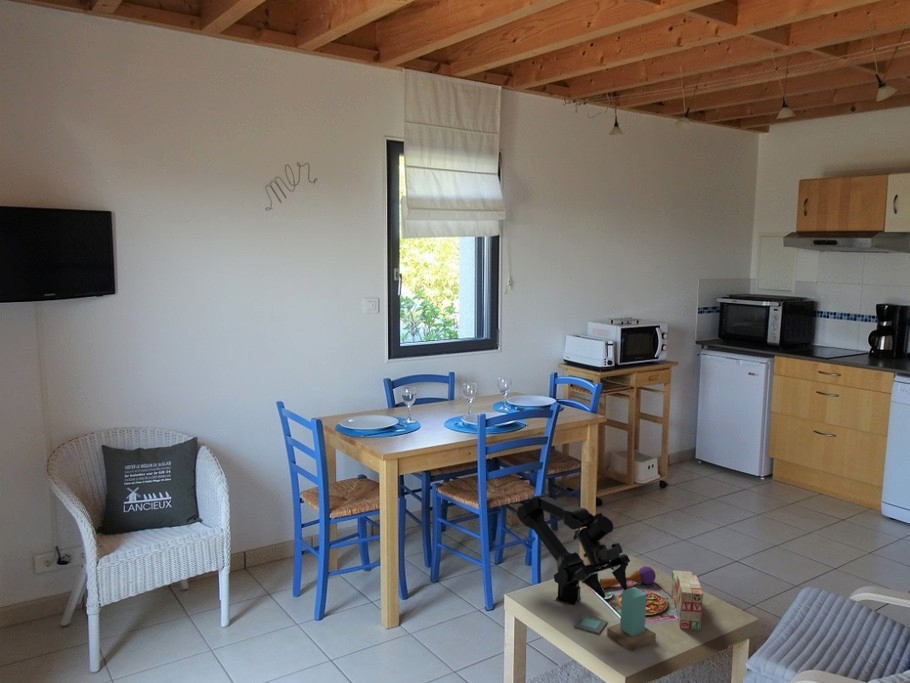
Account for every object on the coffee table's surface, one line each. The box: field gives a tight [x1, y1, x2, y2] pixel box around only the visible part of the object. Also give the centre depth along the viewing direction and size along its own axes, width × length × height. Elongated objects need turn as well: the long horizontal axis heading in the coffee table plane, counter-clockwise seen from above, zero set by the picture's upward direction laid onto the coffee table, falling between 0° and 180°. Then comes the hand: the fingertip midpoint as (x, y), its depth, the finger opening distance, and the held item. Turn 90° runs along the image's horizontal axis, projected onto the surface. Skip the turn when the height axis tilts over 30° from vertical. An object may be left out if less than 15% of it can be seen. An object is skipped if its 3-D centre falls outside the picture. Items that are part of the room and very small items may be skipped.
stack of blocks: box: [671, 570, 704, 631], centre depth 231 cm, size 21×6×12 cm, turn 171°
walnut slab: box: [606, 622, 657, 652], centre depth 216 cm, size 10×10×3 cm
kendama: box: [599, 565, 656, 589], centre depth 250 cm, size 6×6×20 cm
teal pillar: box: [619, 586, 648, 636], centre depth 215 cm, size 5×5×12 cm
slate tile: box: [573, 614, 608, 635], centre depth 224 cm, size 8×8×1 cm
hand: (615, 594), depth 221 cm, fingers open, 9 cm apart
